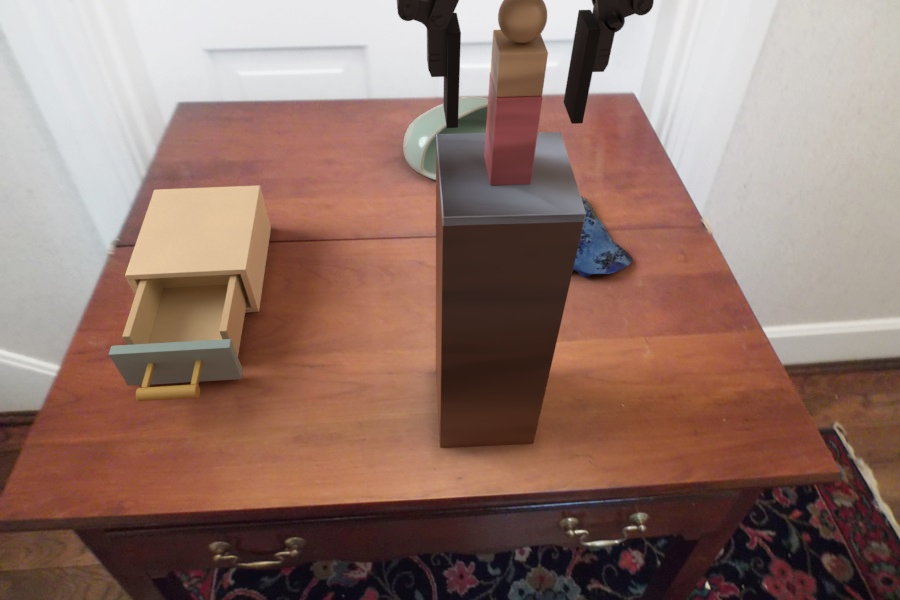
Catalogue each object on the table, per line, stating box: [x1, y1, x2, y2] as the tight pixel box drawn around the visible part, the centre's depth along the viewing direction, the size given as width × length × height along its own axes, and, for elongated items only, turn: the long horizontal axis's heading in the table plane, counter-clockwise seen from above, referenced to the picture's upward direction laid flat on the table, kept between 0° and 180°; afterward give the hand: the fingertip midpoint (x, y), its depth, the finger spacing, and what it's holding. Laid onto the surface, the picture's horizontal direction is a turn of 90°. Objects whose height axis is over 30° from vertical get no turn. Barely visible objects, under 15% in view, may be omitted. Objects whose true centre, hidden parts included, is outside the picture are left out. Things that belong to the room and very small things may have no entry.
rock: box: [573, 195, 633, 278], centre depth 89 cm, size 15×17×2 cm
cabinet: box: [124, 184, 272, 314], centre depth 82 cm, size 16×14×8 cm
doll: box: [484, 0, 549, 185], centre depth 43 cm, size 4×3×13 cm
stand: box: [435, 131, 586, 449], centre depth 60 cm, size 10×10×32 cm
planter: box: [402, 95, 488, 181], centre depth 101 cm, size 19×7×16 cm
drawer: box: [108, 274, 248, 402], centre depth 73 cm, size 19×12×6 cm, turn 5°
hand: (512, 114), depth 44 cm, fingers open, 8 cm apart
